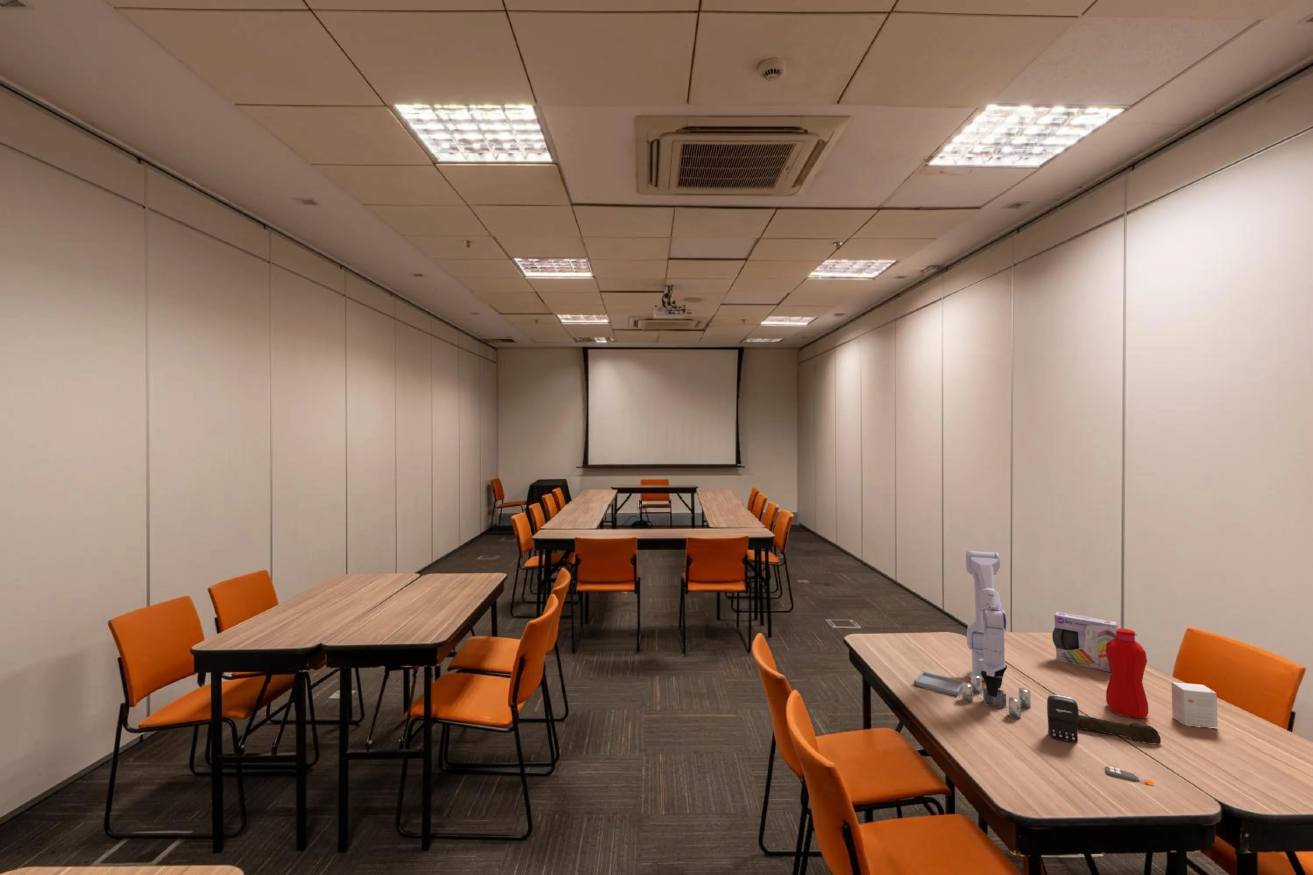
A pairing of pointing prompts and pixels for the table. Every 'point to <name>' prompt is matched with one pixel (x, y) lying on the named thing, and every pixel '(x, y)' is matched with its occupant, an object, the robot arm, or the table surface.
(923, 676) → the tray
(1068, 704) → the battery charger
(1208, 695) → the small box
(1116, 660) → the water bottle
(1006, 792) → the table surface
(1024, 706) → the cylinder
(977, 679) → the cylinder
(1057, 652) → the cake pan box
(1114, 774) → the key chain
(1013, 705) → the cylinder
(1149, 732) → the dark brown bar
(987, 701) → the nut
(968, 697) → the cylinder
